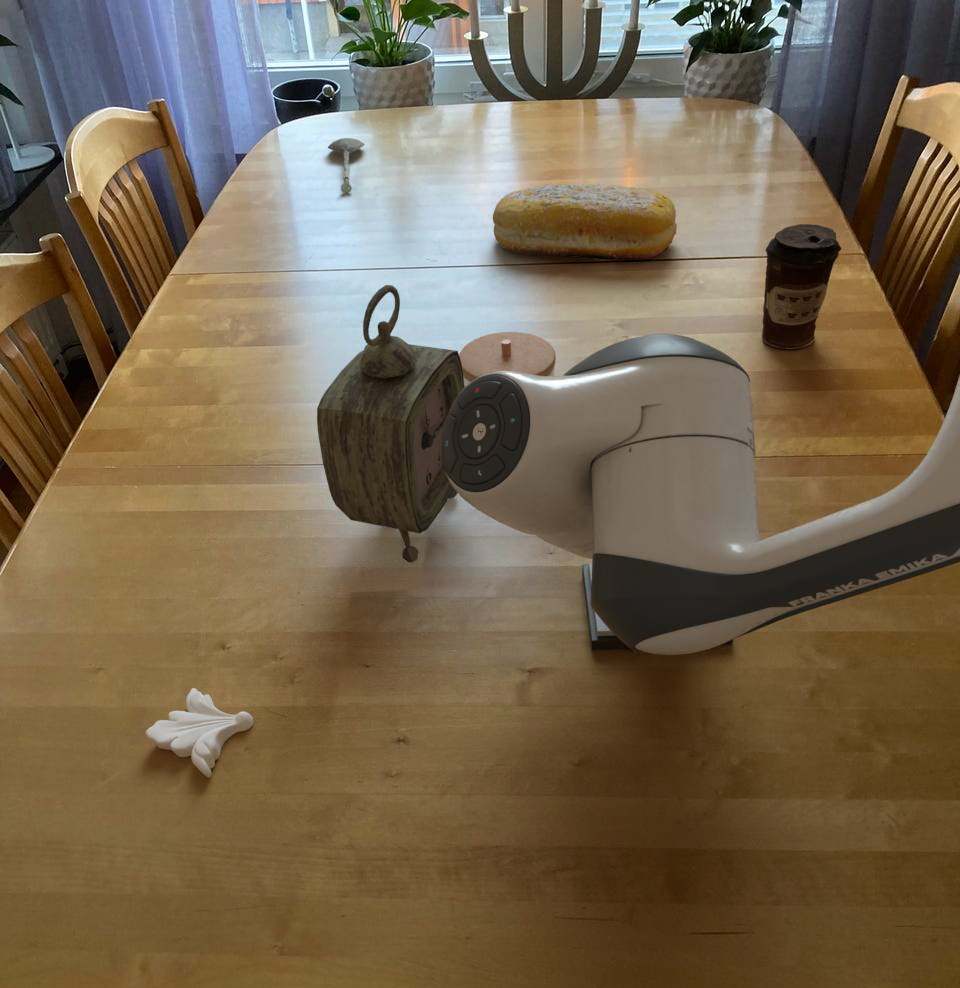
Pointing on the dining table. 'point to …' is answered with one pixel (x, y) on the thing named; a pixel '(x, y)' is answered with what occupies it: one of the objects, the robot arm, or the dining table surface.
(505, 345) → the trinket box
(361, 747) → the dining table surface
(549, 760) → the dining table surface
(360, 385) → the tabletop clock
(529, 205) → the bread
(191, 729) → the acanthus leaf ornament
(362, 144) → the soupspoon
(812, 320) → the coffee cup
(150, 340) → the dining table surface
